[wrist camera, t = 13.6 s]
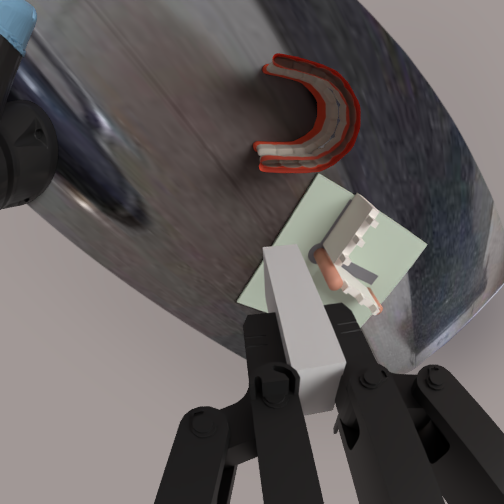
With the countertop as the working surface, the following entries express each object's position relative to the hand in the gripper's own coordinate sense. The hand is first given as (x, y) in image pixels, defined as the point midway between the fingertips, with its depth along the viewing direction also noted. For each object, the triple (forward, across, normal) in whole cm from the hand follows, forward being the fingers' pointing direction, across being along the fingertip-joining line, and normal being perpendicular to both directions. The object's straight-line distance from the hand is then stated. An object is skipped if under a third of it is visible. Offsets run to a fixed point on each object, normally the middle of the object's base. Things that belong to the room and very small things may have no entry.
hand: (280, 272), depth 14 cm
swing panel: (+26, +15, -21) cm, 36 cm away
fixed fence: (+26, +13, -12) cm, 32 cm away
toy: (+27, +7, +4) cm, 28 cm away
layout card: (+26, +14, -20) cm, 36 cm away
